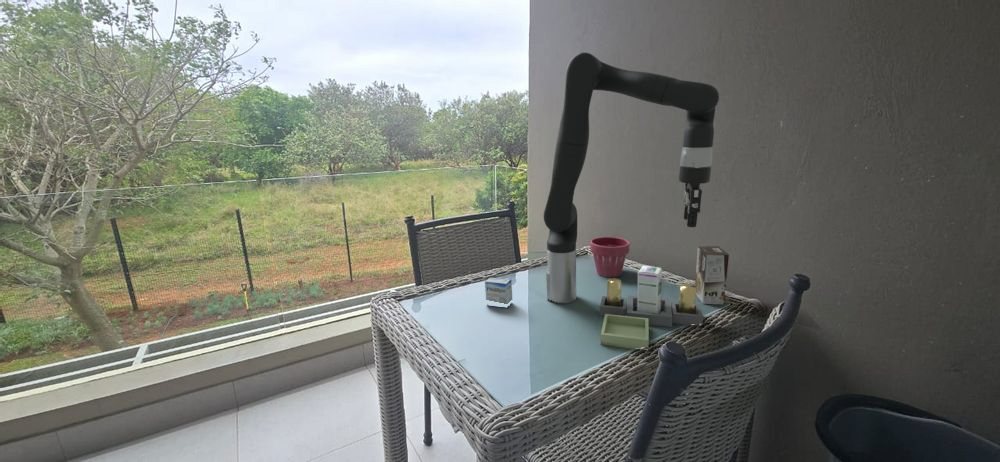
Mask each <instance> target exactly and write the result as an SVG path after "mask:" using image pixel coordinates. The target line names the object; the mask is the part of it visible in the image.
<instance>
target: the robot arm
mask: <svg viewBox="0 0 1000 462" xmlns="http://www.w3.org/2000/svg"><path fill="white" fill-rule="evenodd" d="M564 81H565V84H564V99H563V100H564V101H563V107H562V108H563V109H562V113H561V117H560V121H559V127H558V132H557V133H558V134H557V138H556V142H555V143H556V144H555V150H554V157H553V158H554V159H553V165H552V172H551V174H552V175H551V183H550V189H549V193H548V197H547V201H546V204H545V208H544V212H543V222H544V224H545V226H546V227H547V229H548V230H549V233H548V238H547V241H546V251H547V252H546V254H547V272H546V276H545V277H546V300H547V299H549V300H548V301H551V300H552V301H551V302H553V301H554V302H553V303H556V302H557V304H569V303H573V302H575V301H576V300H577V240H578V210H577V207H576V205H575V204H574V196H575V195H574V194H575V189H576V186H577V183H578V181H579V178H580V176H581V173H582V170H583V167H584V165H585V162H586V161H585V160H586V157H587V151H588V148H589V147H588V146H589V139H590V105H591V101H592V96H593V91H604V92H612V93H617V94H621V95H625V96H627V97H631V98H635V99H637V100H641V101H645V102H648V103H652V104H657V105H660V106H667V107H673V108H674V107H675V108H677V109H682V110H685V111H686V113H685V116H686V117H685V129H684V132H683V142H682V148H681V149H682V150H681V153H680V163H679V170H678V171H679V173H678V182H679V183H684V185H685V186H684V187H685V188H684V189H683V206H684V209H683V211H684V212H683V220H685V221H686V220H687V222H686V226H687V227H688V228H696V227H697V222H698V214H699V213H700V212H701V203H702V195H703V191H702V189H701V188H700V187H701V186H700V185H701V184H708V183H709V182H711V181H710V180H711V172H712V163H713V145H714V144H713V143H714V137H715V136H714V135H715V127H714V120H715V112H716V106H717V105H718V103H719V99H720V94H719V91H718V89H717V88H716V87H715V86H713V85H711V84H708V83H704V82H697V81H691V80H690V81H689V80H681V79H678V78H676V77H671V76H668V75H667V76H666V75H664V74H659V73H652V72H645V71H637V70H636V71H635V70H628V69H623V68H619V67H615V66H612V65H610V64H607V63H605V62H603V61H601V60H599V59H598V58H597V57H596V56H595V55H593V54H591V53H589V52H586V51H585V52H579V53H577V54H575V55H574V56H572V58H571V59H570V60H569V61H568V63H567V66H566V70H565V80H564Z"/></svg>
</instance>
